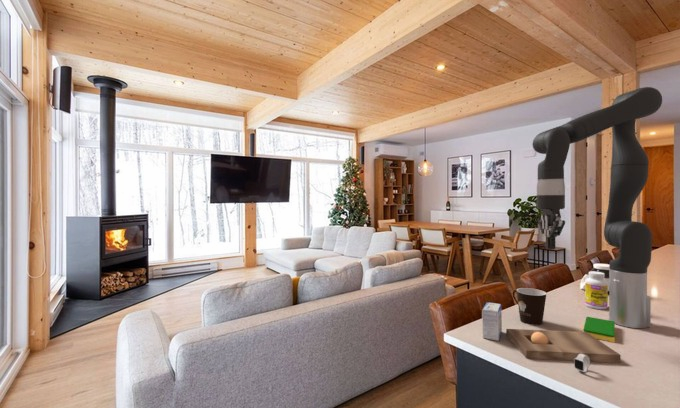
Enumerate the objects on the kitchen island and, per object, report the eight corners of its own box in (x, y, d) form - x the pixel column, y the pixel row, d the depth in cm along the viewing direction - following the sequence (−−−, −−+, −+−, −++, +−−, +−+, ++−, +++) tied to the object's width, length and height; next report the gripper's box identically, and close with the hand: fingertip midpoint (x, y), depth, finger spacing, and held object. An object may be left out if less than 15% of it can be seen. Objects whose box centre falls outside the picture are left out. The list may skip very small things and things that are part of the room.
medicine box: (498, 341, 95) (498, 311, 94) (482, 338, 97) (482, 309, 97) (501, 331, 101) (501, 303, 101) (486, 328, 104) (486, 301, 104)
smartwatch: (582, 367, 80) (581, 350, 80) (592, 371, 78) (592, 354, 78) (573, 371, 78) (573, 354, 78) (584, 375, 76) (583, 358, 76)
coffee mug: (551, 327, 104) (551, 296, 104) (521, 325, 106) (521, 294, 106) (536, 314, 116) (536, 286, 115) (510, 313, 117) (510, 285, 117)
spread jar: (622, 295, 136) (622, 267, 136) (594, 295, 136) (594, 267, 136) (599, 287, 148) (600, 261, 148) (574, 287, 148) (574, 262, 148)
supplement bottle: (588, 308, 121) (588, 273, 120) (582, 303, 127) (582, 270, 127) (610, 310, 118) (610, 275, 118) (603, 305, 124) (604, 271, 124)
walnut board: (586, 338, 96) (586, 331, 96) (620, 362, 82) (620, 354, 82) (506, 335, 99) (506, 328, 99) (526, 358, 85) (526, 350, 85)
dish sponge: (583, 337, 98) (583, 329, 98) (586, 323, 108) (586, 316, 108) (614, 344, 93) (614, 335, 93) (614, 328, 104) (614, 321, 104)
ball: (525, 338, 93) (538, 346, 93) (532, 345, 89) (545, 353, 89) (533, 326, 93) (546, 334, 92) (540, 333, 89) (553, 340, 88)
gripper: (575, 193, 96) (575, 252, 97) (552, 193, 110) (552, 245, 110) (548, 193, 97) (548, 252, 98) (528, 194, 111) (528, 245, 111)
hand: (550, 248), depth 104 cm, fingers closed
